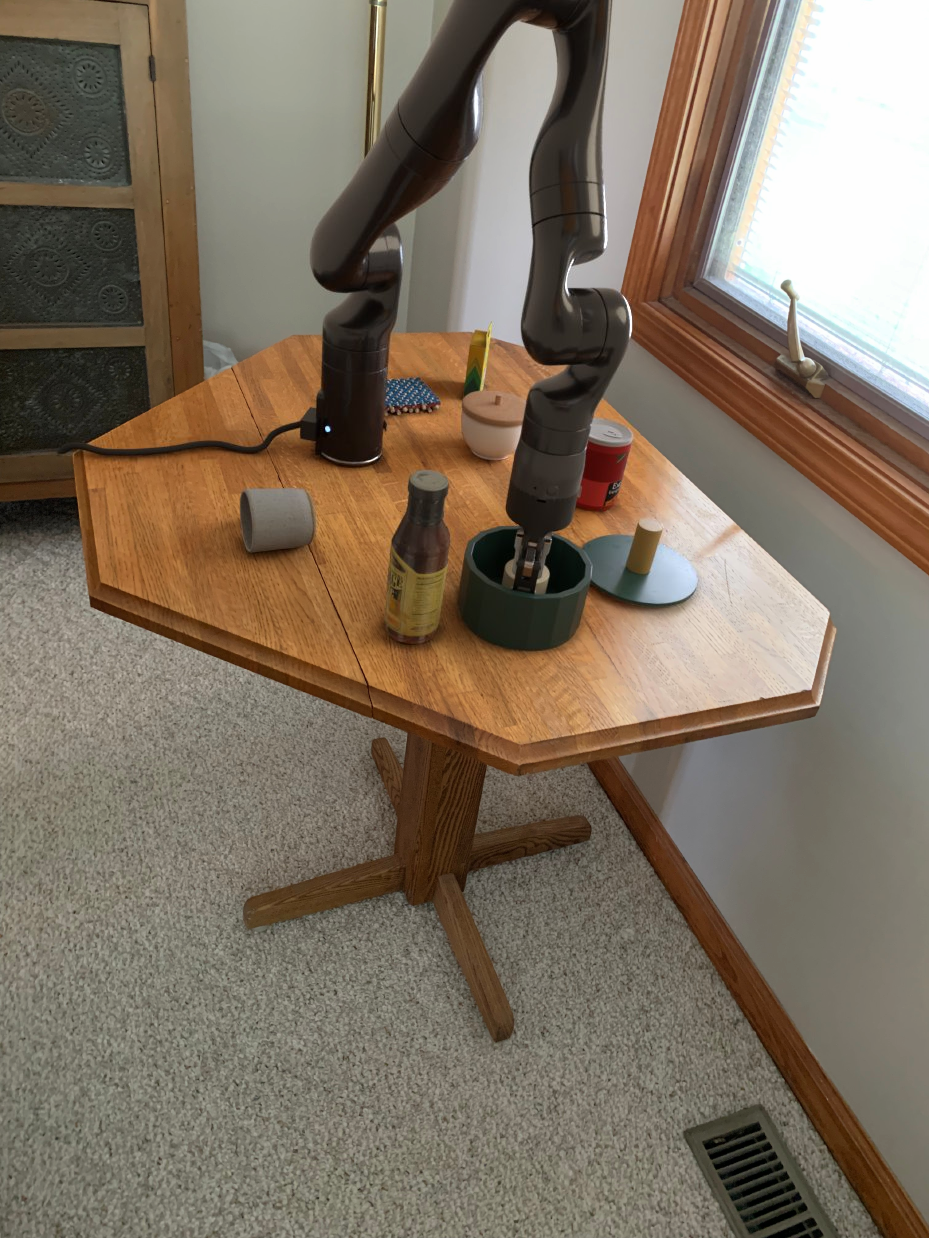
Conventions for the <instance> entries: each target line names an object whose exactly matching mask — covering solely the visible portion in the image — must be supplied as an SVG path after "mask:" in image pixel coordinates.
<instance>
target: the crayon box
mask: <svg viewBox="0 0 929 1238" xmlns="http://www.w3.org/2000/svg"><path fill="white" fill-rule="evenodd" d="M492 326H493V322H492V321H490V324H489V325H488V328H487V331H485V330H481V329H474V332H473V335H472V337H471V340H470V343H469V348H468V354H467V355H468V356H467V361H466V362H467V363H466V370H465V371H466V372H465V379H464V387H463V396H462V399H463V398H464V397H465V396H466V395H468V394H470V393H472V392H476V391H483V390H484V387H485V380H486V372H487V365H488V356H489V352H490V351H489V349H490V343H491V336H492Z"/></svg>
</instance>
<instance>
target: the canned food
mask: <svg viewBox="0 0 929 1238" xmlns="http://www.w3.org/2000/svg"><path fill="white" fill-rule="evenodd" d="M633 438H634V433H633V432H632V431H631V429H630V428H628V426H626V425H624V424H622V423H620V422H617V421H615V420H612V419H607V418H602V417H593V421H592V425H591V430H590V434H589V439H588V443H587V448H586V456H585V466H584V472H583V476H582V480H581V485H580V489H579V493H578V498H577V502H576V506H575V507H578V508H581V509H583V510H587V511H594V512H596V511H597V512H600V511H605V510H609V509H611V508H612V507H613V506H614V505H615V504H616V502H617V500H618V496H619V494H620V490H621V486H622V483H623V478H624V475H625V471H626V467H627V463H628V459H629V455H630V453H631V448H632V443H633Z"/></svg>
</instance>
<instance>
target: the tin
mask: <svg viewBox="0 0 929 1238" xmlns="http://www.w3.org/2000/svg"><path fill="white" fill-rule="evenodd" d="M518 526H519V525H497V526H494V527H491V528H487V529H484V530H481V531H479V532H478V533H477V534H475V536H473V537H472V538H470V539H468V542H467V545H466V548H465V552H464V554H463V561H462V568H461V574H460V581H459V586H458V587H459V588H458V594H457V600H456V605H457V611H458V614H459V618H460V619H461V620H462V622H463V624H464V625H465V626H466V627H467V628H468V629H469V630H470V631H471V632H472V633H474V634H475V635H477V636H478V637H479V638H480V639H483V640H484V641H486V642H489V643H491V644H492V645H496V646H498V647H502V648H505V649H510V650H515V651H522V652H523V651H524V652H539V651H540V652H541V651H546V650H552V649H554V648H557V647H560V646H561V645H564V644H565V643H567V642H568V641H569V640H571V639H572V638H573V637H574V636H575V634H576V632H577V630H578V629H579V628H580V624H581V620H582V617H583V612H584V609H585V606H586V601H587V598H588V595H589V594H588V593H589V590H590V586H591V584H590V582H591V576H592V564H591V562H590V561H589V559H588V557H587V555H586V554H585V552H584V551H583V550H582V549H581V548H582V547H581V548H580V547H579V546H578V545H577V544H575V543H574V542H573V541H571V540H570V539H569V538H567V537H565V536H563V535H560V534H557V533H555V532H553V533H552V538H551V539H552V540H551V546H550V550H549V553H548V555H546V559H545V563H544V565H545V566H546V567H547V568H548V570H549V579H548V584H547V588H546V593H545V594H530V593H525V592H520V591H515V590H511V589H508V588H506V587H504V586H502V581H503V575H504V570H505V565H506V564H507V563H508V562H509V561H510V560H513V559H514V557H515V552H516V549H515V547H514V545H515V540H516V535H517V531H518ZM540 559H541V557H540Z"/></svg>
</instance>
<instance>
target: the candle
mask: <svg viewBox="0 0 929 1238" xmlns="http://www.w3.org/2000/svg"><path fill="white" fill-rule="evenodd" d="M513 562H514V559H513V560H510V561H509V562H508V563H507V564H506V565H505V570H504V575H503V581H502V586H504V587H506V588H508V589H512V586H513V584H514V579H515V575H514V574H513V573H512V567H513ZM548 579H549V570H548V568H547V567H546V566H545V565H544V568H543V573H542V577H541V578H540V579H537V583H536V588H535V594H545V593H546V588H547V584H548Z"/></svg>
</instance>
